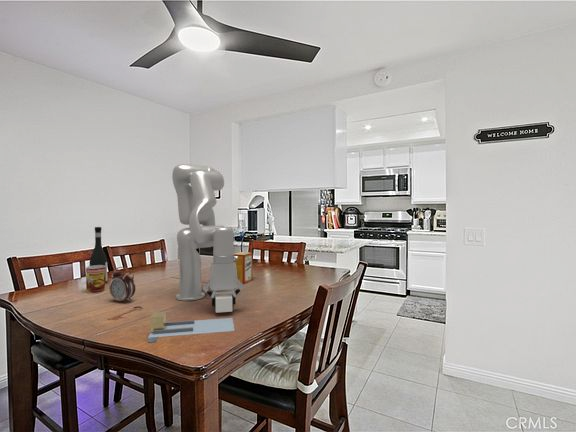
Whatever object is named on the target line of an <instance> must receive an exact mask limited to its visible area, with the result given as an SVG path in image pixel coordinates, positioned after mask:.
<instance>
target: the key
mask: <svg viewBox="0 0 576 432" xmlns="http://www.w3.org/2000/svg"><path fill="white" fill-rule="evenodd" d="M141 310H143V307H142V306H134V307H133V308H132V309H130V310H127V311H126V312H122V313H120V314H118V315H115V316H113V317H110V318H108V319H107V320H108V321H117V320H120V319H123V318H125V317H124V316H125V315H126V314H129V313H132V312H134V311H141ZM123 315H124V316H123Z"/></svg>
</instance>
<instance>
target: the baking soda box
mask: <svg viewBox="0 0 576 432" xmlns="http://www.w3.org/2000/svg"><path fill="white" fill-rule="evenodd" d="M234 256H237V257H238V259H237V260H234V262H235V263H236V269H237V279H238V280H239V281H240V282H241V283H242V284H243V285H245V284H248V283H250V282H251V281H253V259H254V257H253V252H247V251H241V252H235V253H234Z"/></svg>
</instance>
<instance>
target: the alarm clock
mask: <svg viewBox="0 0 576 432" xmlns="http://www.w3.org/2000/svg"><path fill="white" fill-rule="evenodd" d="M119 269H124V270H126V272H125V273H123V272H122V271H120V270H119ZM110 277H111V280H110V282H109V287H108V289H109V293H110V295H111V297H112V298H113V300H112V301H113V302H115V301H116V302H117V301H118V302H121V301H123V302H124V304H127V301H126V300H129V301H132V299H131V298H133V296H134V295H135V292H136V282H135V281H134V278H135V276H134V274H133V273H132V272H129V270H128V268H127V267H124V266H119V267H117V268H116V269H114V270H113V272H112V274H111V276H110Z"/></svg>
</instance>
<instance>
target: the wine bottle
mask: <svg viewBox="0 0 576 432" xmlns="http://www.w3.org/2000/svg"><path fill="white" fill-rule="evenodd" d="M94 236H95V237H94V238H95V242H94V249H93V250H92V253H91V256H90V257H89V258H90V259H89V266H94V265H104V266H105V284H107V282H108V258H107V255H106V253H105V251H104V248H103V247H102V226H95V227H94Z"/></svg>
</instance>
